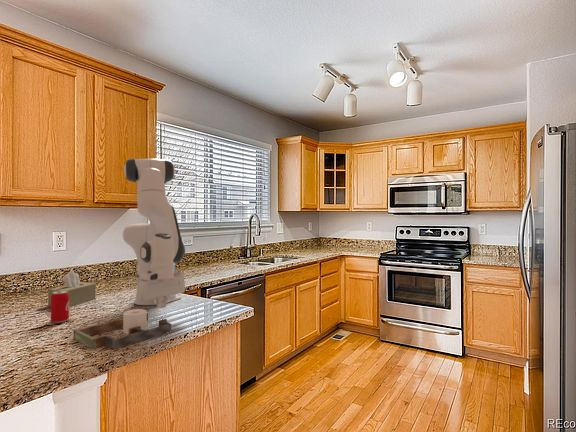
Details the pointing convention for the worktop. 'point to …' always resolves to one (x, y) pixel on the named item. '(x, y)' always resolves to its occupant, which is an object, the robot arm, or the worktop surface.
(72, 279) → the tissue box
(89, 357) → the worktop surface
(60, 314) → the beverage can
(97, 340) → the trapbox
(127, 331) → the toilet paper
